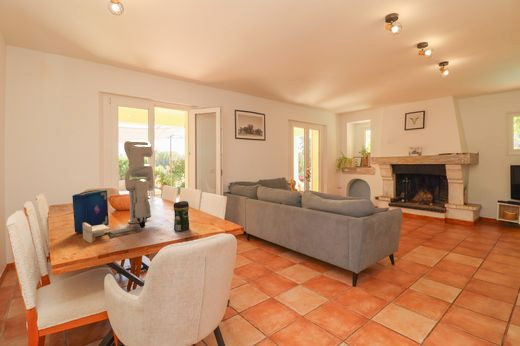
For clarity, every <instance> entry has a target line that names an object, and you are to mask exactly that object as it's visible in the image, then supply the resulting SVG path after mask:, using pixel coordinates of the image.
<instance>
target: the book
mask: <svg viewBox="0 0 520 346" xmlns="http://www.w3.org/2000/svg"><path fill="white" fill-rule="evenodd" d="M107 190H108V189H107ZM107 190H106V189H95V190H88V191H83V192H80V193H77V194H73V195H71V196H72V210H73V211H72V212H73V224H74V225H73V226H74V232H75V234H76V233H77V234H83V223H87V224H89V225H91V226H96V225H102V224H103V225H105V226H107V227H108V226H109V225H110V224H109V223H110V222H109V221H110V220H109V205H108V204H109V202H108V191H107Z"/></svg>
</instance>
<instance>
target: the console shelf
mask: <svg viewBox="0 0 520 346" xmlns="http://www.w3.org/2000/svg"><path fill="white" fill-rule="evenodd" d="M106 231H107V232H108V231H111V227H109V226H108V225H107V226H105V225H103V224H102V225H96V226H91V225H89V224H87V223H83V233H82V238H83V239H84V241H86V242H87V243H88V244H89V243H93V242H95V241H96V237H101V236H105V235H104V233H105V232H106Z"/></svg>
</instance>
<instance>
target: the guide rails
mask: <svg viewBox="0 0 520 346" xmlns="http://www.w3.org/2000/svg"><path fill="white" fill-rule="evenodd" d="M141 231H142V230H141V229H140V230H136V231H131V232H126V233H121V234H116V235H109V231H107V232H106V231H104V235H103V236H106V235H109V236H108V237H109V239H113V238H118V237H122V236H128V235H132V234H136V233H141Z"/></svg>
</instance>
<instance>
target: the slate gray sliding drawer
mask: <svg viewBox="0 0 520 346" xmlns="http://www.w3.org/2000/svg"><path fill="white" fill-rule="evenodd" d="M136 230H141V228H140V226H139V225H137V224H134V225H133V226H129V227H125V228H120V229H115V230H108V232H109V234H108V235H109V236H111V235H116V234H121V233H126V232H131V231H136Z"/></svg>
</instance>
